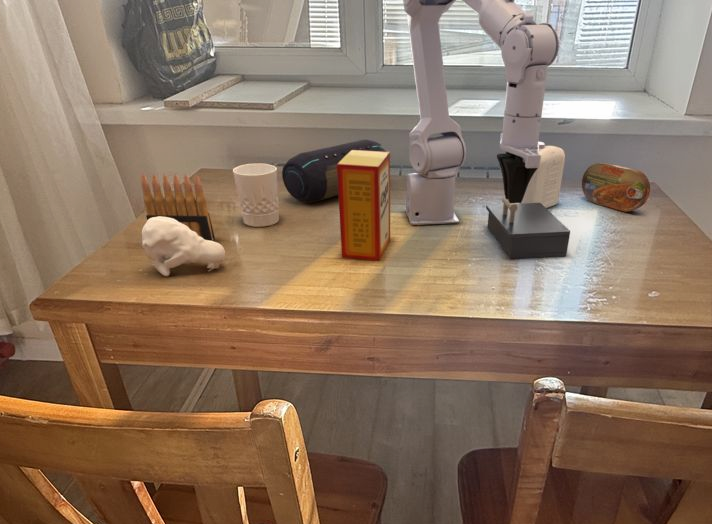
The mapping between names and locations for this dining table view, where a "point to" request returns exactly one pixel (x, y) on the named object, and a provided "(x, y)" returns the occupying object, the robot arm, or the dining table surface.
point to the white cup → (257, 193)
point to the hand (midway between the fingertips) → (513, 200)
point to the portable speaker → (319, 170)
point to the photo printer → (546, 178)
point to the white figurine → (177, 245)
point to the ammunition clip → (179, 204)
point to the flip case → (528, 243)
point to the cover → (526, 220)
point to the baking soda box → (364, 204)
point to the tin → (615, 186)
